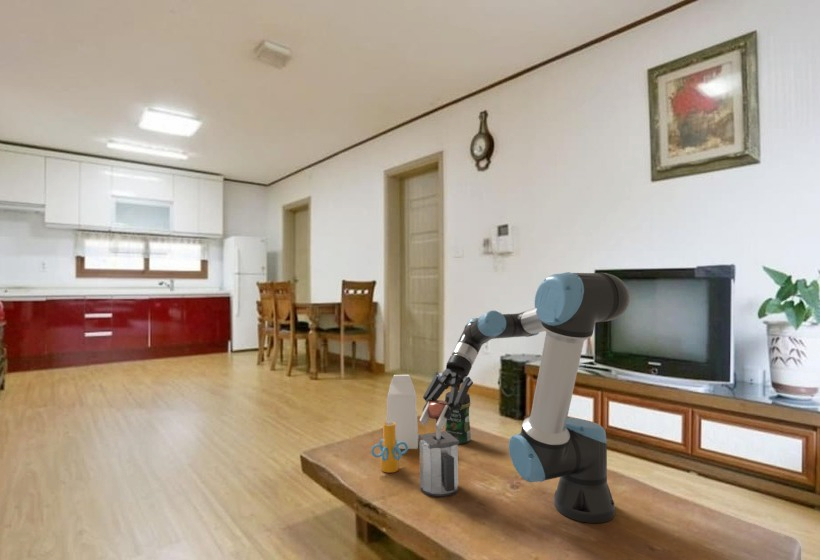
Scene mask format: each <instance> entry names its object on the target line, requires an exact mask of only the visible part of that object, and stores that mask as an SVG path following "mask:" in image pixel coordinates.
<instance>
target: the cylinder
mask: <svg viewBox="0 0 820 560" xmlns="http://www.w3.org/2000/svg"><path fill="white" fill-rule="evenodd" d="M382 423H383V424H382V425H383V426H382V429H383V432H382V433H383V436H382V437H383V438H381V439H380V440H379V442H378V443H376V444H373V446H372V447H371V450H370V451H371V452H370V453H371V455H372V457H374V458H380V470H381V471H382V472H383V473H385V474H386V473H388V474H389V473H390V474H393V473H395V472H398V471H399V470H400V460H401V458H402V455H403V456H404V455H405V454H406V453H407V451H408V450H409V449H408V446H407V444H406V443H405V442H399V443H398V444H397V440H396V434H395V423H394V422H386V421H385V422H382ZM382 444H383V445H382ZM400 444H404V445H405V447H406V448H405V449H404V450H403V451H401V450H402V449H400V448H399V447H398V446H399V445H400ZM377 447H378V448H379V451H380V453H379V454H376V453H375V449H376V448H377Z"/></svg>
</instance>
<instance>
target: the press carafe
mask: <svg viewBox="0 0 820 560" xmlns="http://www.w3.org/2000/svg"><path fill="white" fill-rule="evenodd" d="M418 440H419V441H418V447H419V487H420V488H419V489H420V492H421V493H422V494H423V495H425V496H428V497H430V498H436V499H437V498H438V499H440V498H441V499H442V498H449V497H452V496H454V495H456V494H457V493H458V491H459V465H458V464H459V463H458V462H459V461H458V457H459V455H458V452H459V451H458V449H459V448H458V445H460V443H459V441H458V440H457V439H456V438H455V437H453V436H452V435H451V434H450V433H448V432H447V431H445V430H442V431H441V439H440V440H436V431H435V432H431V433H430V432H429V433H421V434H418Z"/></svg>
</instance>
